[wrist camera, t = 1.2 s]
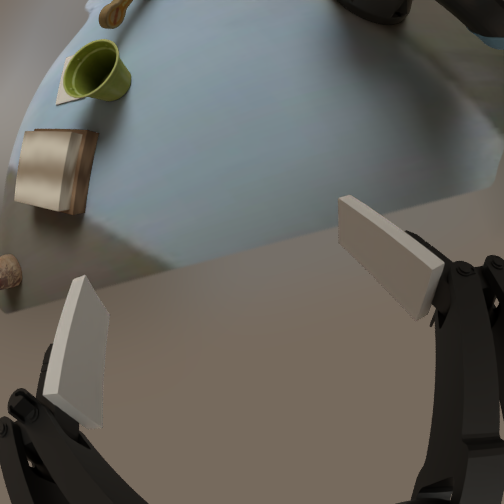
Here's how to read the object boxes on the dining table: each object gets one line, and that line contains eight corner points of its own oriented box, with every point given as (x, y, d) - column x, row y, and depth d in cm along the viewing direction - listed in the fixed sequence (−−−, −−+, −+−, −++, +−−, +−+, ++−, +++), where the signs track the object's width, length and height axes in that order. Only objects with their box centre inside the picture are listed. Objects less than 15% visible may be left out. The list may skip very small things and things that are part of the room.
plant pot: (118, 52, 33) (94, 31, 24) (153, 74, 34) (130, 52, 26) (83, 94, 34) (53, 81, 26) (114, 121, 36) (84, 109, 27)
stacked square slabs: (46, 131, 36) (23, 127, 29) (99, 133, 36) (76, 126, 30) (35, 201, 38) (11, 204, 32) (84, 212, 39) (61, 217, 33)
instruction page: (67, 58, 32) (66, 57, 32) (96, 48, 32) (95, 48, 32) (56, 105, 35) (55, 104, 34) (85, 97, 34) (84, 96, 34)
